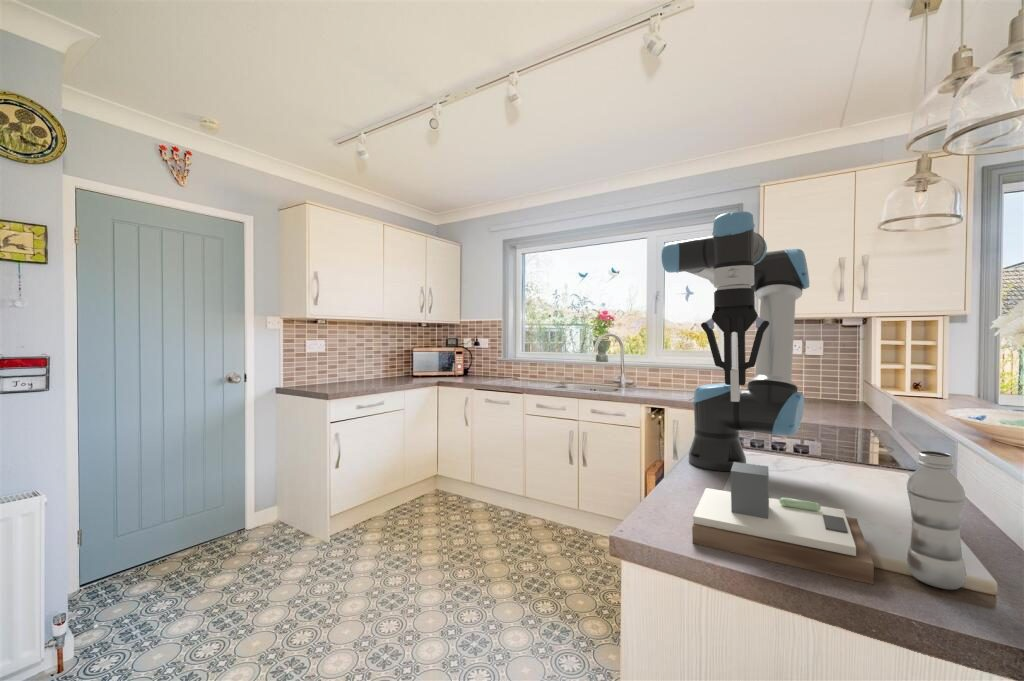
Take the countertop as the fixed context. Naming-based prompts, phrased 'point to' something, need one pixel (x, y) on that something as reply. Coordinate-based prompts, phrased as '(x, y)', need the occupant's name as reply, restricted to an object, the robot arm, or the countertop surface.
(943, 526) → the plastic bottle
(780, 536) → the plate
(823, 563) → the walnut base
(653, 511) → the countertop surface
